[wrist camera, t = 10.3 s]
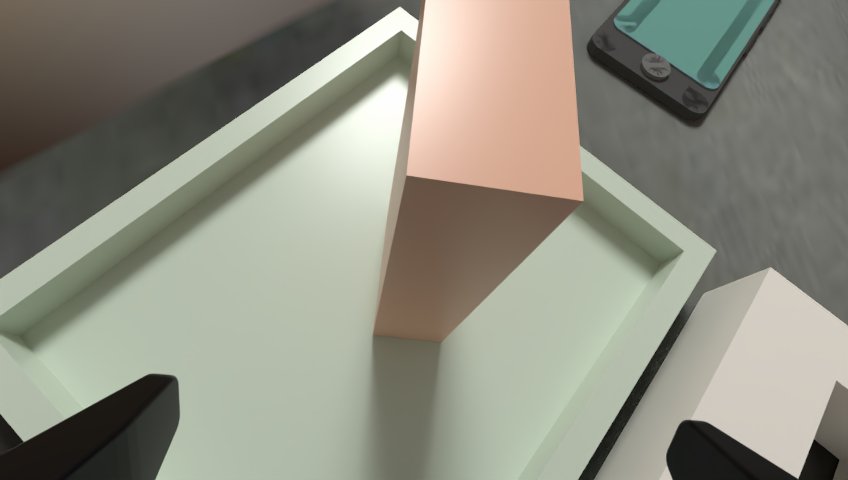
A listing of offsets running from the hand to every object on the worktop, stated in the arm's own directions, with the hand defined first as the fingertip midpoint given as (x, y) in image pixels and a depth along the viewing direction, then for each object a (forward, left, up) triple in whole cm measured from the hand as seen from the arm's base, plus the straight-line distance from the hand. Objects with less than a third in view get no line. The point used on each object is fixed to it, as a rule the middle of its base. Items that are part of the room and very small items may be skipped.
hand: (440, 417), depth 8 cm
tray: (+3, +3, -9) cm, 10 cm away
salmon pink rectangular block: (+4, +3, -8) cm, 9 cm away
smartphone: (+28, +2, -9) cm, 30 cm away
